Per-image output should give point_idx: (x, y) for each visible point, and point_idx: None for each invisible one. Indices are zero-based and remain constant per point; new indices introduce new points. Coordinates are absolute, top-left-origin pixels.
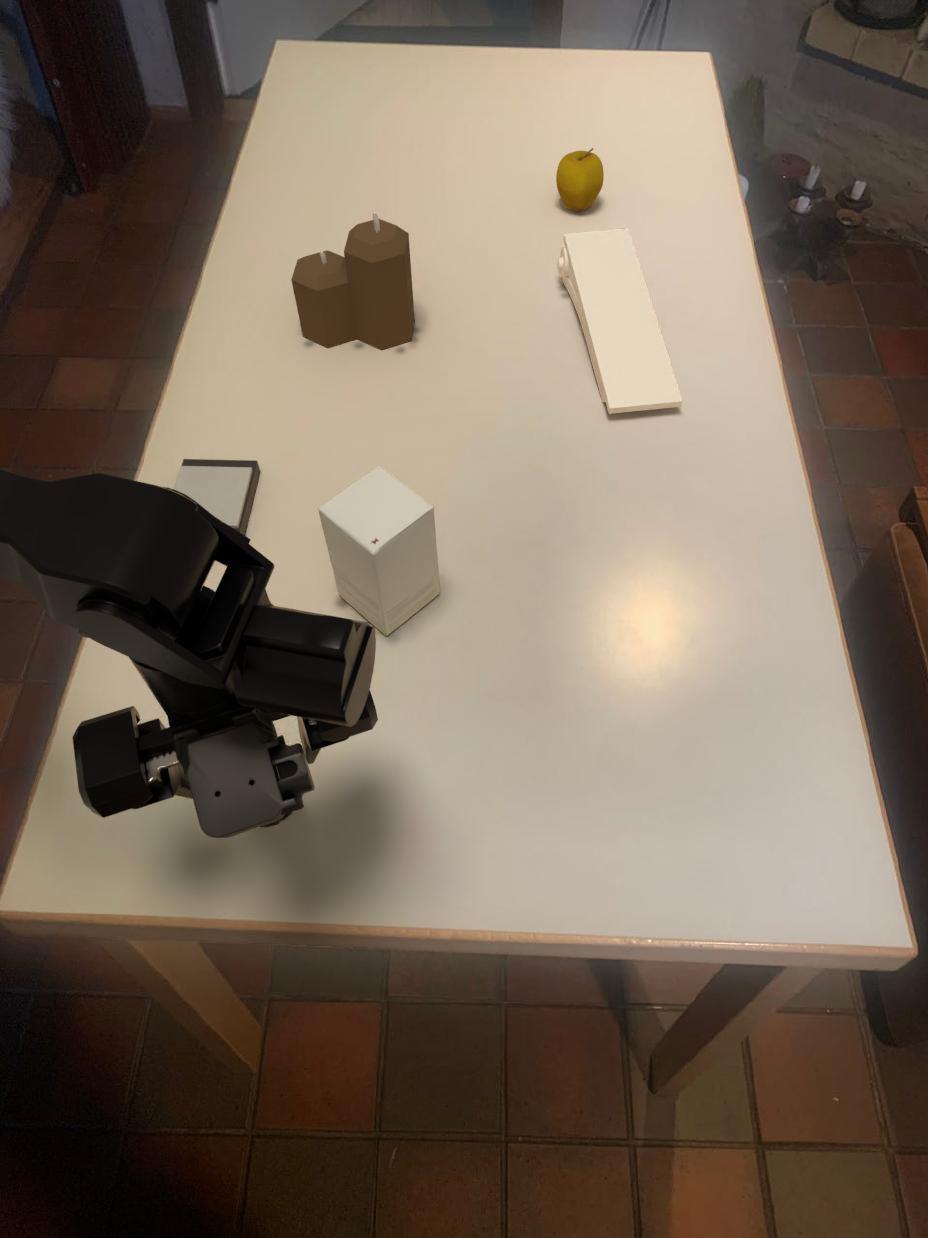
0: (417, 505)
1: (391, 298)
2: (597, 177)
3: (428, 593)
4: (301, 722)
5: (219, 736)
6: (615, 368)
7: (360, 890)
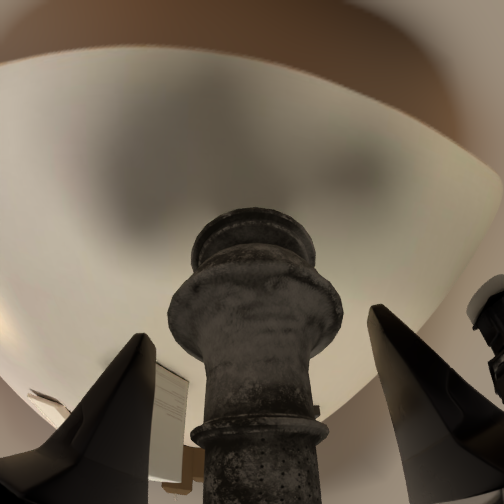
0: None
1: None
2: None
3: None
4: (107, 485)
5: None
6: (59, 417)
7: (138, 92)
